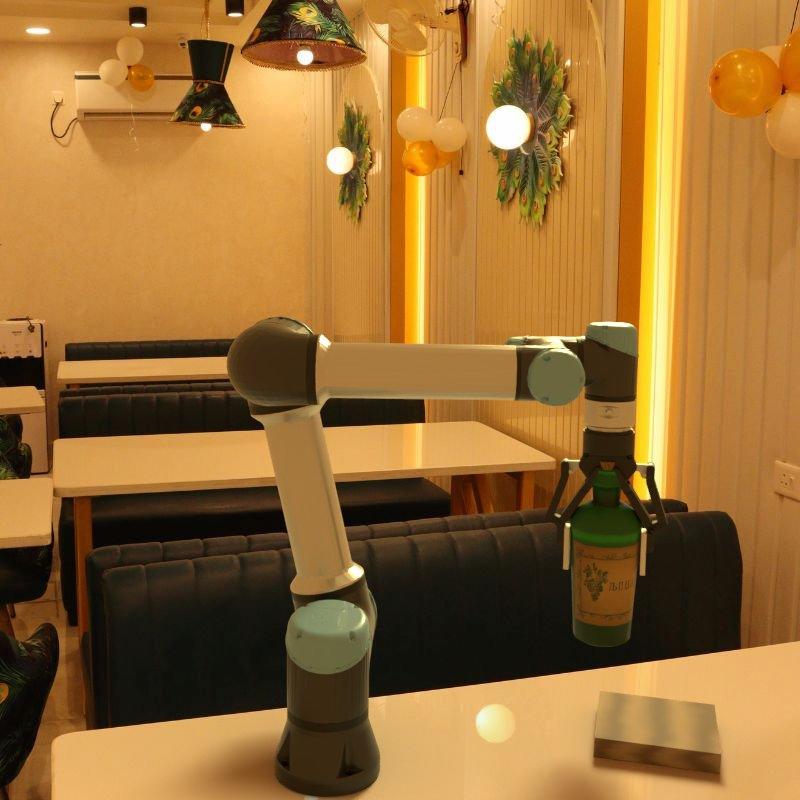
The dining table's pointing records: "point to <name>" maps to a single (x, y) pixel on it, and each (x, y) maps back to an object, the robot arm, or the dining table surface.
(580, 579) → the bottle
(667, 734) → the walnut riser
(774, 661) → the dining table surface
